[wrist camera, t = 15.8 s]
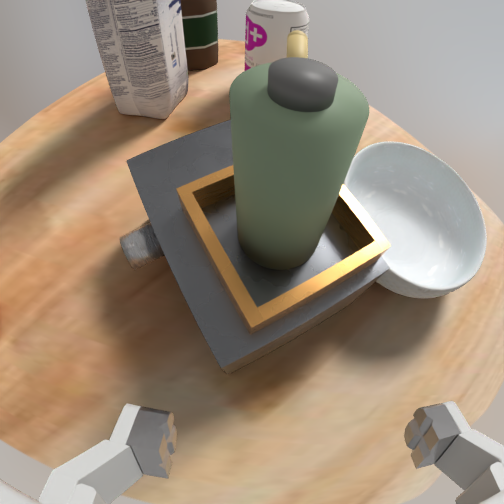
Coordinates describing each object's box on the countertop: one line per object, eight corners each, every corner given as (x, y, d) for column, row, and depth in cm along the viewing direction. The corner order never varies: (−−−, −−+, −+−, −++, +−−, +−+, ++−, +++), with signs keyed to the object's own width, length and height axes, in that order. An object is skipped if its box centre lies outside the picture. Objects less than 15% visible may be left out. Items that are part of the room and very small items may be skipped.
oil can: (320, 272, 19) (393, 125, 8) (233, 266, 19) (217, 107, 8) (315, 180, 22) (351, 35, 11) (243, 174, 22) (241, 24, 12)
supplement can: (253, 108, 39) (257, 13, 26) (238, 80, 43) (239, -2, 29) (305, 102, 41) (321, 14, 27) (285, 75, 44) (295, -3, 30)
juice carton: (169, 126, 37) (137, -64, 13) (111, 118, 39) (65, -41, 14) (196, 91, 41) (184, -72, 17) (141, 85, 42) (114, -57, 18)
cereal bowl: (355, 158, 36) (372, 118, 30) (460, 221, 33) (489, 191, 26) (297, 262, 29) (313, 226, 23) (433, 339, 26) (475, 322, 20)
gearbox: (197, 389, 24) (166, 389, 14) (126, 228, 30) (85, 158, 20) (349, 304, 28) (404, 254, 17) (256, 171, 34) (262, 91, 24)
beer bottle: (226, 64, 45) (226, -59, 24) (184, 75, 43) (172, -53, 22) (210, 49, 48) (207, -59, 26) (172, 59, 46) (159, -53, 25)
